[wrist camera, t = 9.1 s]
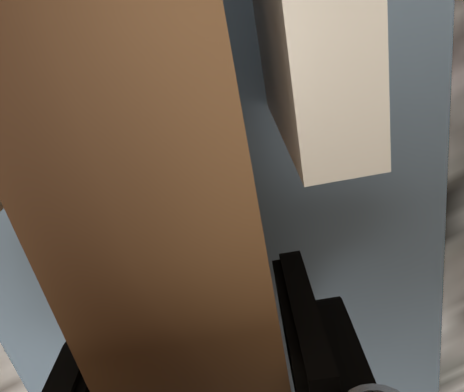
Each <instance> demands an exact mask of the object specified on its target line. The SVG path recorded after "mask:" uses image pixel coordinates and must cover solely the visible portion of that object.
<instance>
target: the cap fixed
mask: <svg viewBox="0 0 464 392" xmlns="http://www.w3.org/2000/svg"><path fill="white" fill-rule="evenodd" d="M252 3H253V10H254V17H255V24H256V30H257V37H258V44H259V51H260V58H261V64H262V71H263V78H264V85H265V91H266V98H267V105H268V108H269V110H270V112H271V114H272V117H273V119H274V121H275V123H276V125H277V128H278V130H279V132H280V134H281V137H282V139H283V141H284V143H285V145H286V148H287V150H288V152H289V154H290V156H291V159H292V161H293V163H294V165H295V168H296V170H297V172H298V174H299V176H300V179H301V181H302V183H303V185H304V187H308V186H314V185H319V184H325V183H331V182H336V181H342V180H348V179H353V178H359V177H365V176H370V175H376V174H382V173H387V172H391V143H390V97H389V52H388V7H387V0H252ZM2 209H3V205H2V203H1V201H0V211H1V210H2Z"/></svg>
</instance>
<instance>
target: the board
mask: <svg viewBox="0 0 464 392" xmlns="http://www.w3.org/2000/svg"><path fill="white" fill-rule="evenodd" d="M223 5H224V11H225V16H226V22H227V28H228V33H229V39H230V45H231V51H232V56H233V62H234V68H235V73H236V79H237V85H238V90H239V96H240V102H241V108H242V113H243V119H244V125H245V130H246V136H247V142H248V148H249V153H250V159H251V165H252V170H253V176H254V182H255V187H256V193H257V199H258V205H259V210H260V216H261V222H262V227H263V233H264V239H265V244H266V250H267V256H268V262H269V267H270V273H271V279H272V284H273V290H274V296H275V302H276V307H277V313H278V319H279V324H280V330H281V336H282V341H283V347H284V353H285V359H286V364H287V370H288V376H289V381H290V387H291V392H295V389H294V384H293V379H292V373H291V368H290V363H289V357H288V352H287V347H286V341H285V335H284V329H283V323H282V318H281V312H280V306H279V300H278V294H277V288H276V282H275V276H274V271H273V265H272V261H273V260H279V259H280V258H279V254H281V253H287V252H293V251H300V253H301V256H302V259H303V262H304V265H305V268H306V272H307V275H308V278H309V281H310V284H311V288H312V291H313V294H314V297H315V300H319V299H325V298H332V297H338V296H340V297H341V298H342V300H343V302H344V305H345V307H346V309H347V312H348V314H349V317H350V319H351V322H352V324H353V327H354V329H355V332H356V334H357V337H358V339H359V341H360V344H361V346H362V349H363V351H364V354H365V356H366V359H367V361H368V364H369V366H370V369H371V371H372V373H373V376H374V378H375V381H376V383H377V384H382V385H386V386H389V387H392V388H394V389H397V390H398V391H400V392H439V375H440V350H441V325H442V300H443V275H444V250H445V225H446V200H447V175H448V150H449V125H450V100H451V75H452V50H453V25H454V0H387V7H388V52H389V97H390V143H391V172H387V173H382V174H376V175H370V176H365V177H359V178H353V179H348V180H342V181H336V182H331V183H325V184H319V185H314V186H308V187H304V185H303V183H302V181H301V179H300V176H299V174H298V172H297V170H296V168H295V165H294V163H293V161H292V159H291V156H290V154H289V152H288V150H287V148H286V145H285V143H284V141H283V139H282V137H281V134H280V132H279V130H278V128H277V125H276V123H275V121H274V119H273V117H272V114H271V112H270V110H269V108H268V105H267V98H266V91H265V85H264V78H263V71H262V64H261V58H260V51H259V44H258V37H257V30H256V24H255V17H254V10H253V3H252V0H223ZM65 342H66V340H65V338H64V336H63V334H62V331H61V329H60V327H59V325H58V323H57V321H56V319H55V317H54V314H53V312H52V310H51V308H50V306H49V304H48V302H47V299H46V297H45V295H44V293H43V291H42V289H41V287H40V284H39V282H38V280H37V278H36V276H35V274H34V272H33V269H32V267H31V265H30V263H29V261H28V259H27V257H26V255H25V252H24V250H23V248H22V246H21V244H20V242H19V240H18V237H17V235H16V233H15V231H14V229H13V227H12V225H11V222H10V220H9V218H8V216H7V214H6V212H5V210H4V208H3V209H2V210H1V211H0V343H1V344H2V346H3V348H4V350H5V352H6V353H7V355H8V357H9V359H10V360H11V362H12V364H13V366H14V368H15V369H16V371H17V373H18V375H19V377H20V378H21V380H22V382H23V384H24V386H25V387H26V389H27V391H28V392H42V389H43V387H44V385H45V383H46V381H47V379H48V376H49V374H50V372H51V370H52V368H53V366H54V363H55V361H56V359H57V357H58V355H59V353H60V350H61V348H62V346H63V345H64V343H65Z"/></svg>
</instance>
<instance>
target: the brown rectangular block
mask: <svg viewBox="0 0 464 392" xmlns="http://www.w3.org/2000/svg"><path fill="white" fill-rule="evenodd" d="M0 201H1V203H2V205H3V208H4V210H5V212H6V214H7V216H8V218H9V220H10V222H11V225H12V227H13V229H14V231H15V233H16V235H17V237H18V240H19V242H20V244H21V246H22V248H23V250H24V252H25V255H26V257H27V259H28V261H29V263H30V265H31V267H32V269H33V272H34V274H35V276H36V278H37V280H38V282H39V284H40V287H41V289H42V291H43V293H44V295H45V297H46V299H47V302H48V304H49V306H50V308H51V310H52V312H53V314H54V317H55V319H56V321H57V323H58V325H59V327H60V329H61V331H62V334H63V336H64V338H65V340H66V342H67V344H68V346H69V349H70V351H71V353H72V355H73V357H74V359H75V361H76V364H77V366H78V368H79V370H80V372H81V374H82V376H83V378H84V381H85V383H86V385H87V387H88V389H89V391H90V392H291V387H290V381H289V376H288V370H287V364H286V359H285V353H284V347H283V341H282V336H281V330H280V324H279V319H278V313H277V307H276V302H275V296H274V290H273V284H272V279H271V273H270V267H269V262H268V256H267V250H266V244H265V239H264V233H263V227H262V222H261V216H260V210H259V205H258V199H257V193H256V187H255V182H254V176H253V170H252V165H251V159H250V153H249V148H248V142H247V136H246V130H245V125H244V119H243V113H242V108H241V102H240V96H239V90H238V85H237V79H236V73H235V68H234V62H233V56H232V51H231V45H230V39H229V33H228V28H227V22H226V16H225V11H224V5H223V0H0Z"/></svg>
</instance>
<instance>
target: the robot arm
mask: <svg viewBox="0 0 464 392" xmlns="http://www.w3.org/2000/svg"><path fill="white" fill-rule="evenodd" d="M279 258H280V259H279V260H273V261H272V265H273V271H274V276H275V282H276V288H277V294H278V300H279V306H280V312H281V318H282V323H283V329H284V335H285V341H286V347H287V352H288V357H289V363H290V368H291V373H292V379H293V384H294V389H295V392H400V391H398V390H397V389H394V388H392V387H389V386H386V385H382V384H377V383H376V381H375V378H374V376H373V373H372V371H371V369H370V366H369V364H368V361H367V359H366V356H365V354H364V351H363V349H362V346H361V344H360V341H359V339H358V337H357V334H356V332H355V329H354V327H353V324H352V322H351V319H350V317H349V314H348V312H347V309H346V307H345V305H344V302H343V300H342V298H341V297H340V296H338V297H332V298H325V299H319V300H315V297H314V294H313V291H312V288H311V284H310V281H309V278H308V275H307V272H306V268H305V265H304V262H303V259H302V256H301V253H300V251H293V252H287V253H281V254H279ZM42 392H90V391H89V389H88V387H87V385H86V383H85V381H84V378H83V376H82V374H81V372H80V370H79V368H78V366H77V364H76V361H75V359H74V357H73V355H72V353H71V351H70V349H69V346H68V344H67V342H65V343H64V345H63V346H62V348H61V350H60V353H59V355H58V357H57V359H56V361H55V363H54V366H53V368H52V370H51V372H50V374H49V376H48V379H47V381H46V383H45V385H44V387H43V389H42Z"/></svg>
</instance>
